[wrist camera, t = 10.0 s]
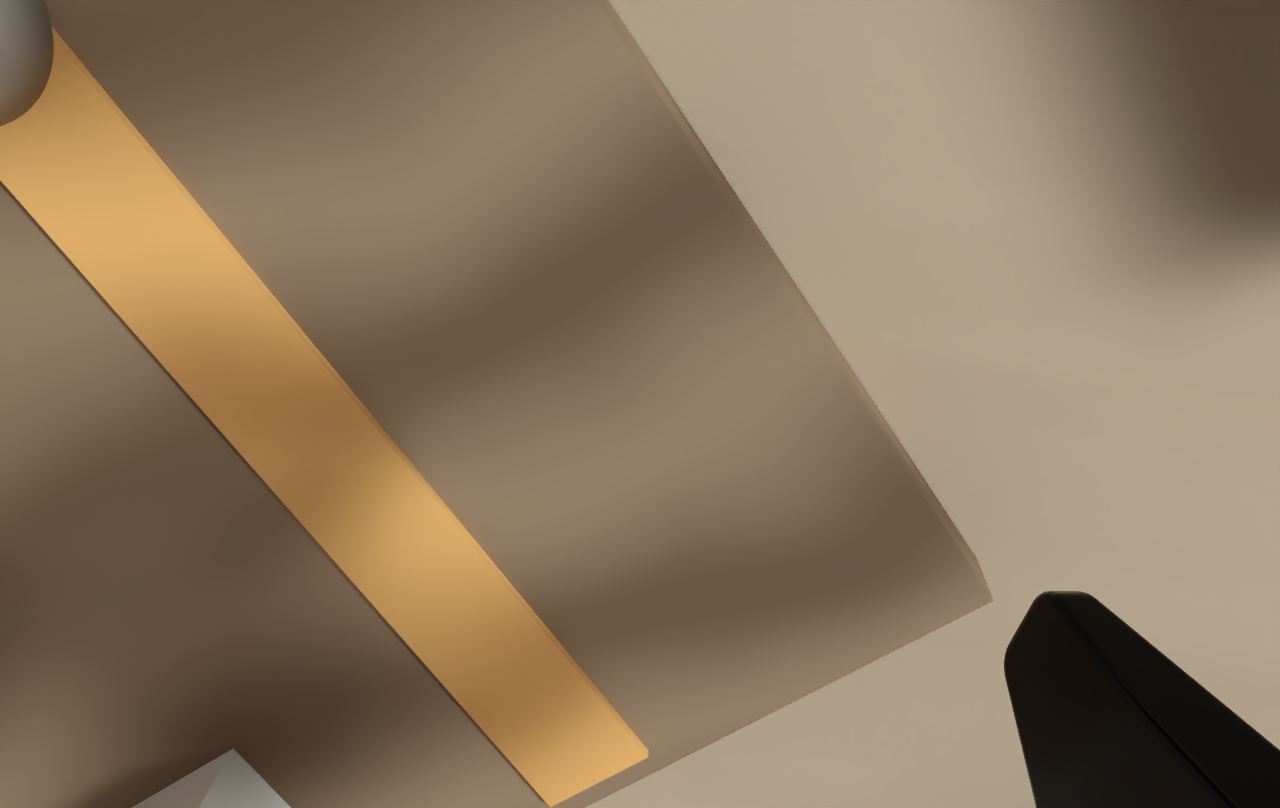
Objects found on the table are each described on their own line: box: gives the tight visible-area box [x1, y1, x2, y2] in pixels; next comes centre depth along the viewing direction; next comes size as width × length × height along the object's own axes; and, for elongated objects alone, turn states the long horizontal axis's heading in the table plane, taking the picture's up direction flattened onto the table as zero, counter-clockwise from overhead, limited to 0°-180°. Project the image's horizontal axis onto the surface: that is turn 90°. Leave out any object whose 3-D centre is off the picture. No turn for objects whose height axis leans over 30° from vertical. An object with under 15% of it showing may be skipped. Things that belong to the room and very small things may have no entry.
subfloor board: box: [0, 0, 993, 808], centre depth 22 cm, size 20×22×2 cm
